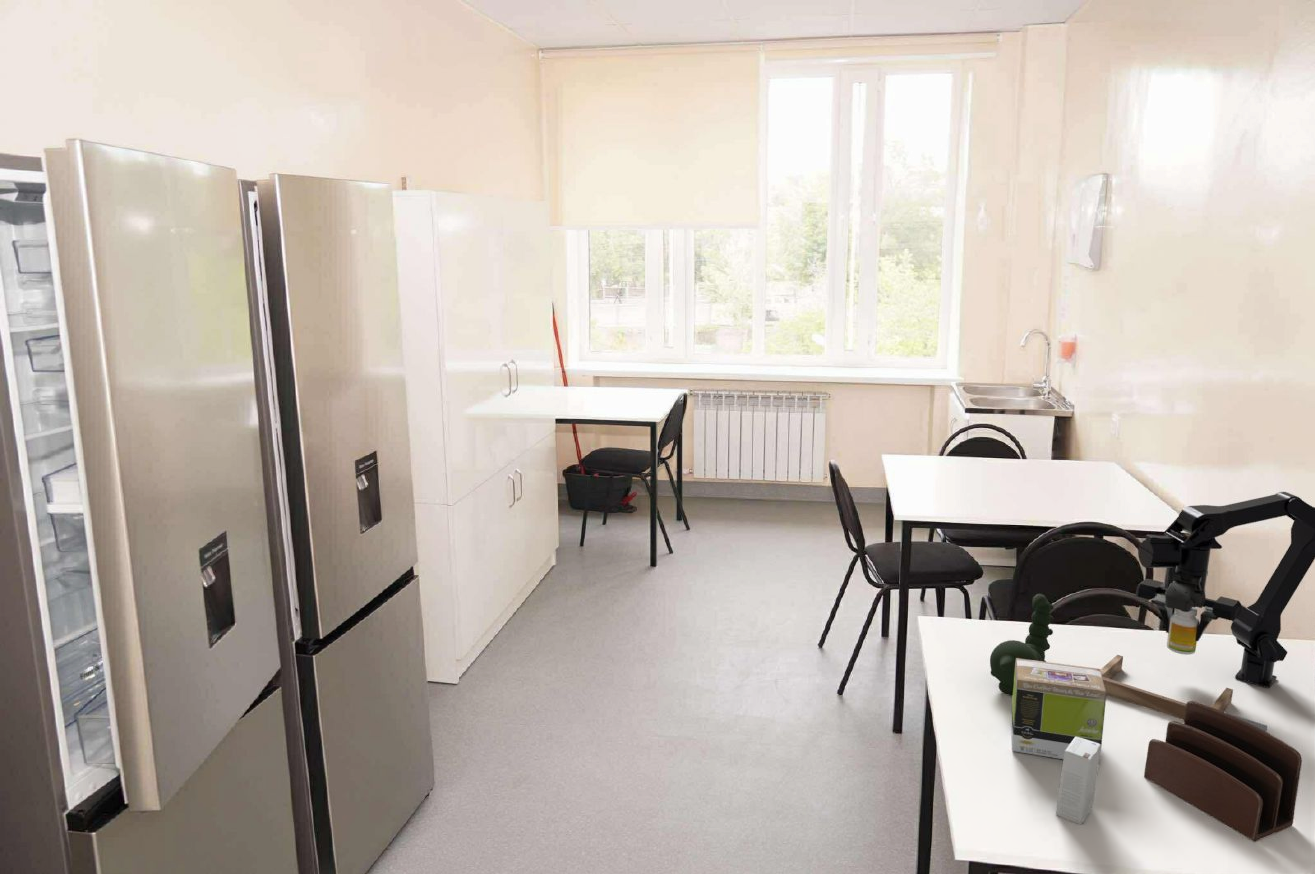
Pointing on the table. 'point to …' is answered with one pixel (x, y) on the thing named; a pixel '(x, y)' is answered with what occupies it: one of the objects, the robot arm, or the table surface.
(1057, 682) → the tea box
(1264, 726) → the slate mat
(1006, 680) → the toy figurine
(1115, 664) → the walnut stall
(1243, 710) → the table surface
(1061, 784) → the skincare box
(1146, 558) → the robot arm
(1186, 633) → the supplement bottle
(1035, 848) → the table surface
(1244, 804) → the letter holder
